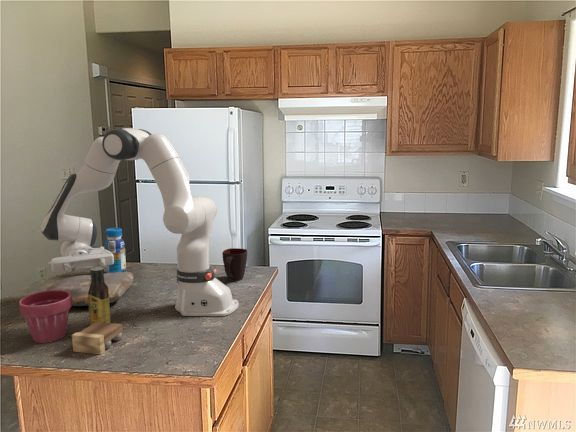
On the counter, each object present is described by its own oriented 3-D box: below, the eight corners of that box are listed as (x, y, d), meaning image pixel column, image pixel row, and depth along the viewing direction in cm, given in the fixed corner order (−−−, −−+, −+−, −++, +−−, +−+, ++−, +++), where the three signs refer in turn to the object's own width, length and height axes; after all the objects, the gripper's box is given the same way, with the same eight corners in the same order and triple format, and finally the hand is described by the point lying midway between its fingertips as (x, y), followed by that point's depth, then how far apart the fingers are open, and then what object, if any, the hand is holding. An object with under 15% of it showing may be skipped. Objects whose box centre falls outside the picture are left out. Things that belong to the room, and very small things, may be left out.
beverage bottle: (103, 273, 214) (99, 229, 211) (120, 269, 220) (117, 226, 217) (113, 277, 209) (109, 232, 205) (130, 273, 215) (127, 228, 212)
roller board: (123, 337, 148) (122, 322, 147) (100, 354, 137) (99, 337, 137) (97, 335, 150) (96, 320, 149) (73, 351, 140) (71, 335, 139)
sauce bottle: (87, 327, 156) (81, 267, 153) (105, 322, 161) (101, 264, 157) (95, 333, 152) (90, 272, 148) (114, 327, 156) (110, 268, 153)
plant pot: (27, 351, 140) (22, 309, 138) (19, 335, 151) (15, 295, 149) (79, 338, 148) (76, 298, 146) (69, 324, 159) (65, 286, 157)
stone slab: (136, 283, 201) (135, 269, 200) (126, 308, 173) (124, 291, 172) (56, 288, 196) (55, 274, 195) (33, 315, 168) (31, 298, 167)
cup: (250, 276, 209) (250, 249, 207) (239, 286, 196) (238, 257, 194) (229, 274, 212) (228, 247, 210) (216, 284, 199) (215, 255, 196)
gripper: (46, 253, 168) (52, 262, 157) (107, 245, 179) (117, 254, 168) (47, 270, 169) (54, 281, 158) (108, 262, 181) (118, 271, 169)
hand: (87, 267), depth 163 cm, fingers open, 8 cm apart
